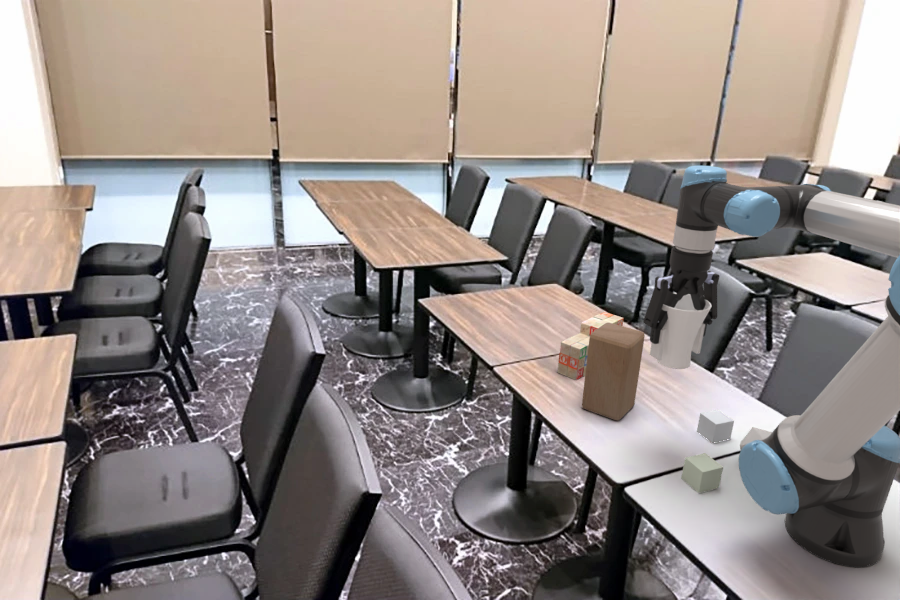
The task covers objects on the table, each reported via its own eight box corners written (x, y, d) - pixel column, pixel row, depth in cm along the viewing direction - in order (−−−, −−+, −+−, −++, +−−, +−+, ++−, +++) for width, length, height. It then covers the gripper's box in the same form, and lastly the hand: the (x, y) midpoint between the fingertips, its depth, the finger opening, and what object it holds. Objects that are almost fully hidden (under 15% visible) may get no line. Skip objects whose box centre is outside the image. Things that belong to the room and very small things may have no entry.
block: (618, 423, 146) (630, 345, 139) (579, 409, 152) (588, 333, 145) (635, 406, 154) (646, 331, 147) (597, 393, 159) (606, 320, 152)
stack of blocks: (576, 381, 165) (581, 338, 161) (556, 373, 169) (560, 331, 165) (618, 357, 180) (624, 317, 175) (599, 350, 184) (604, 310, 179)
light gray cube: (730, 440, 141) (734, 420, 140) (712, 443, 140) (716, 424, 138) (714, 428, 146) (717, 409, 144) (696, 432, 144) (700, 413, 142)
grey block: (760, 485, 127) (797, 453, 125) (726, 452, 130) (762, 420, 128) (761, 477, 135) (796, 447, 132) (729, 446, 138) (762, 416, 135)
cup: (671, 378, 124) (682, 314, 119) (636, 356, 133) (645, 295, 128) (711, 369, 128) (723, 307, 123) (675, 348, 137) (684, 289, 132)
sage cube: (718, 488, 125) (723, 467, 123) (698, 493, 123) (702, 472, 121) (701, 473, 129) (705, 453, 128) (681, 478, 128) (685, 457, 126)
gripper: (722, 239, 128) (704, 340, 136) (633, 246, 121) (619, 353, 129) (751, 249, 122) (730, 354, 130) (658, 257, 115) (642, 369, 122)
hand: (674, 353), depth 129 cm, fingers closed on cup, 9 cm apart
